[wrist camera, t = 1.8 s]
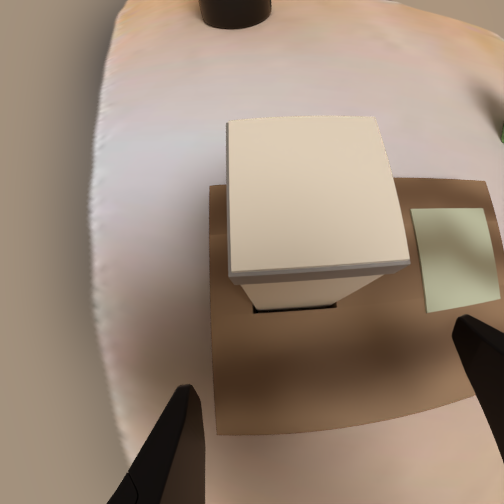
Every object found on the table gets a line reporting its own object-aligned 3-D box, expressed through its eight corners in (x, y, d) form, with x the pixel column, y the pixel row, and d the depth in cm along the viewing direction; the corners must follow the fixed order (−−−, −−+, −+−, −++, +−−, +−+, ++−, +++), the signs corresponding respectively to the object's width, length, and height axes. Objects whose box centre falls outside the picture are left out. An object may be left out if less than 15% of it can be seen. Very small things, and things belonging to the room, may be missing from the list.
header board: (492, 377, 18) (515, 379, 15) (224, 422, 19) (216, 436, 16) (468, 195, 22) (486, 180, 19) (217, 204, 23) (209, 184, 20)
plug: (326, 309, 20) (413, 262, 7) (257, 314, 21) (227, 275, 7) (319, 244, 22) (376, 114, 8) (254, 248, 22) (225, 118, 9)
